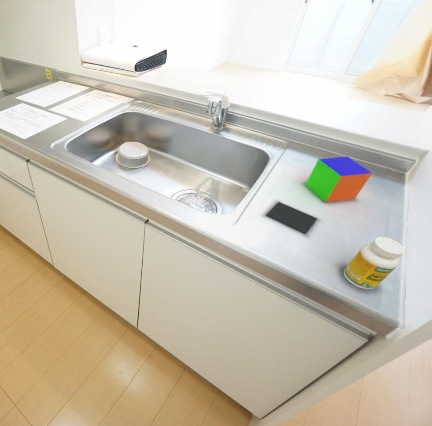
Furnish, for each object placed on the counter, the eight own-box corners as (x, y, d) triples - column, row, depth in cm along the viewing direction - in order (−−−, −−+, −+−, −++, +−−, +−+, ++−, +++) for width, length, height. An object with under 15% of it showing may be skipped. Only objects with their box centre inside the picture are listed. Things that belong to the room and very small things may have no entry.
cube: (332, 181, 78) (347, 156, 73) (354, 199, 72) (372, 173, 67) (305, 184, 77) (318, 159, 72) (325, 202, 71) (341, 176, 66)
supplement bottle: (360, 265, 56) (390, 232, 50) (383, 288, 52) (419, 254, 46) (335, 269, 56) (362, 235, 49) (357, 292, 52) (389, 258, 45)
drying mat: (316, 219, 67) (317, 218, 66) (305, 234, 63) (306, 233, 63) (278, 202, 72) (278, 201, 71) (265, 215, 68) (266, 214, 68)
